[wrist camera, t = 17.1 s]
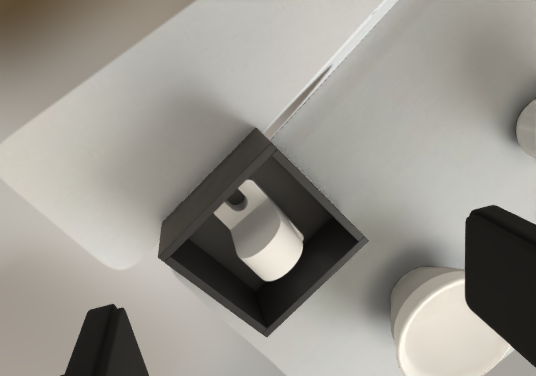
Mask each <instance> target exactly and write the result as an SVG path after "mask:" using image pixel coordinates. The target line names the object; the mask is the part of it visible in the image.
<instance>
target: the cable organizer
mask: <svg viewBox="0 0 536 376" xmlns="http://www.w3.org/2000/svg"><path fill="white" fill-rule="evenodd" d="M238 189H239V190H240V191H241V192H242V193H243V194H244V195H245V199H244V201H243V202H242V203H240V204H238V205H233V204H231V203H230V202H228V201H227V200H226V201H225V202H224V203H223V204H222V205H221V206H220V207H219V208H218V209H217V210H216V211H215V212H214V214H215V215H216V216H217V217H218V218H219V219H220V220H221V221H222V222H223V223H224V224H225V225H226V226H227V227H228V228H229V229H230V231H231V234H232V238H233V242H234V245H235V249H236V252H237V255H238V257H239V258H240V259H241V260H242V261H244V262H245V263H246V264H247V265H248V266H249V267H250V268H251V269H252V270H253V271H254V272H255V273H256V274H257V275H258V276H259V277H260V278H261V279H263V280H265V281H273V280H276V279H278V278H280V277H282V276H283V275H285V274H286V273H288V272H289V271H290V270H291V269H292V268H293V267H294V265H295V264H296V263H297V261H298V260H299V258H300V256H301V253H302V250H303V243H302V241H303V240H304V236H303V235H302V233H301V232H300V230H299V229H298V227H297V226H296V225H295V224H294V223H293V222H292V221H291V220H290V219H289V218H288V217H287V215H286V214H285V213H284V212H283V211H282V210H281V209H280V208H279V207H278V206H277V205H276V203H275V202H274V201H273V200H272V199H271V198H270V197H269V196H268V195H267V194H266V193H265V191H264V190H263V189H262V188H261V187H260V186H259V185H258V184H257V183H256V182H255V181H254V180H253V178H252V177H251V176H250V177H249V178H248V179H247V180H246V181H245V182H244V183H243V184H242V185H241V186H240V187H239V188H238Z"/></svg>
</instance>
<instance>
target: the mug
mask: <svg viewBox="0 0 536 376" xmlns="http://www.w3.org/2000/svg"><path fill="white" fill-rule="evenodd" d="M516 133H517V139H518V142H519V145H520V147H521V148H522V149H523V150H524V151H525V152H526V153H527V154H529V155H531V156H533V157H535V158H536V99H535V100H533V101H532V102H531V103H530V104H529V105H528V106H527V107H526V108H525V109H524V110H523V111H522V113H521V114H520V116H519V118H518V121H517V124H516Z"/></svg>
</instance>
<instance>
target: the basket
mask: <svg viewBox="0 0 536 376" xmlns="http://www.w3.org/2000/svg"><path fill="white" fill-rule="evenodd" d="M250 176H251V177H252V178H253V180H254V181H255V182H256V183H257V184H258V185H259V186H260V187H261V188H262V189H263V190H264V191H265V193H266V194H267V195H268V196H269V197H270V198H271V199H272V200H273V201H274V202H275V203H276V205H277V206H278V207H279V208H280V209H281V210H282V211H283V212H284V213H285V214H286V215H287V217H288V218H289V219H290V220H291V221H292V222H293V223H294V224H295V225H296V226H297V227H298V229H299V230H300V232H301V233H302V235H303V236H304V240H303V241H302V243H303V250H302V253H301V256H300V258H299V260H298V261H297V263H296V264H295V265H294V267H293V268H292V269H291V270H290V271H289V272H288V273H286V274H285V275H283V276H282V277H280V278H278V279H276V280H273V281H265V280H263V279H261V278H260V277H259V276H258V275H257V274H256V273H255V272H254V271H253V270H252V269H251V268H250V267H249V266H248V265H247V264H246V263H245V262H244V261H242V260H241V259H240V258H239V257H238V255H237V252H236V249H235V245H234V242H233V238H232V234H231V231H230V229H229V228H228V227H227V226H226V225H225V224H224V223H223V222H222V221H221V220H220V219H219V218H218V217H217V216H216V215H215V214H214V212H215V211H216V210H217V209H218V208H219V207H220V206H221V205H222V204H223V203H224V202H225V201H226V200H227V201H228V202H230V203H231V204H233V205H238V204H240V203H242V202H243V201H244V199H245V195H244V194H243V193H242V192H241V191H240V190H239V189H238V188H239V187H240V186H241V185H242V184H243V183H244V182H245V181H246V180H247V179H248V178H249V177H250ZM367 242H368V239H367V238H366V237H365V236H364V235H363V234H362V233H361V232H360V231H359V230H358V229H357V228H356V227H355V226H354V225H353V224H352V223H351V222H350V221H349V220H348V219H347V218H346V217H345V216H344V215H343V214H342V213H341V212H340V211H339V210H338V209H337V208H336V207H335V206H334V205H333V204H332V203H331V202H330V201H329V200H328V199H327V198H326V197H325V196H324V195H323V194H322V193H321V192H320V191H319V190H318V189H317V188H316V187H315V186H314V185H313V184H312V183H311V182H310V181H309V180H308V179H307V178H306V177H305V176H304V175H303V174H302V173H301V172H300V171H299V170H298V169H297V168H296V167H295V166H294V165H293V164H292V163H291V162H290V161H289V160H288V159H287V158H286V157H285V156H284V155H283V154H282V153H281V152H280V151H279V150H278V149H277V148H276V147H275V146H274V145H273V144H272V143H271V142H270V141H269V140H268V139H267V138H266V137H265V136H264V135H263V134H262V133H261V132H260V131H259V130H258V129H257V128H255V129H254V130H253V131H252V132H251V133H250V134H249V135H248V136H247V137H246V138H245V139H244V140H243V141H242V142H241V143H240V144H239V145H238V146H237V147H236V148H235V149H234V150H233V151H232V152H231V153H230V154H229V156H228V157H227V158H226V159H225V160H224V161H223V162H222V163H221V164H220V165H219V166H218V167H217V168H216V169H215V170H214V171H213V172H212V173H211V174H210V175H209V176H208V177H207V178H206V179H205V180H204V181H203V182H202V183H201V184H200V185H199V186H198V187H197V188H196V189H195V190H194V191H193V192H192V193H191V194H190V195H189V196H188V197H187V198H186V199H185V200H184V201H183V202H182V203H181V204H180V205H179V206H178V207H177V208H176V209H175V210H174V211H173V212H172V213H171V214H170V215H169V216H168V217H167V218H166V220H165V221H164V222H163V223H162V227H161V235H160V243H159V252H158V258H159V259H161V260H162V261H163V262H165V263H166V264H167V265H169V266H170V267H171V268H173V269H174V270H175V271H177V272H178V273H179V274H181V275H182V276H184V277H185V278H186V279H188V280H189V281H190V282H192V283H193V284H194V285H196V286H197V287H199V288H200V289H201V290H203V291H204V292H205V293H207V294H208V295H209V296H211V297H212V298H214V299H215V300H216V301H218V302H219V303H220V304H222V305H223V306H224V307H226V308H227V309H229V310H230V311H231V312H233V313H234V314H235V315H237V316H238V317H239V318H241V319H242V320H243V321H245V322H246V323H248V324H249V325H250V326H252V327H253V328H254V329H256V330H257V331H258V332H260V333H261V334H263V335H264V336H265V337H268V336H269V335H270V334H271V333H272V332H273V331H274V330H275V329H276V328H277V327H278V326H280V325H281V324H282V323H283V322H284V321H285V320H286V319H287V318H288V317H289V316H290V315H291V314H292V313H293V312H294V311H295V310H296V309H297V308H299V307H300V306H301V305H302V304H303V303H304V302H305V301H306V300H307V299H308V298H309V297H310V296H311V295H312V294H313V293H314V292H315V291H316V290H317V289H319V288H320V287H321V286H322V285H323V284H324V283H325V282H326V281H327V280H328V279H329V278H330V277H331V276H332V275H333V274H334V273H335V272H336V271H338V270H339V269H340V268H341V267H342V266H343V265H344V264H345V263H346V262H347V261H348V260H349V259H350V258H351V257H352V256H353V255H354V254H355V253H357V252H358V251H359V250H360V249H361V248H362V247H363V246H364V245H365V244H366V243H367Z"/></svg>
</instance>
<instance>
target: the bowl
mask: <svg viewBox="0 0 536 376" xmlns="http://www.w3.org/2000/svg"><path fill="white" fill-rule="evenodd" d="M390 305H391V312H390V322H391V332H392V336H393V339H394V341H395V345H396V353H397V360H398V364H399V367H400V369H401V371H402V372H403V374H404V375H405V376H483V375H484V374H486V373H487V372H488V371H489V370H491V369H492V368H493V367H494V366H495V365H496V364H497V363H498V362H499V361H500V360H501V359H502V358H503V357H504V355H505V354H506V352H507V351H508V350H509V348H510V347H511V345H510V344H509V343H507V342H506V341H505V340H504V339H503V338H502V337H501V336H500V335H498V334H497V333H496V332H495V331H494V330H493V329H492V328H491V327H489V326H488V325H487V324H486V323H485V322H484V321H483V320H482V319H480V318H479V317H478V316H477V315H476V314H475V313H474V312H472V311H471V310H470V308H469V307H468V305H467V303H466V301H465V270H462V269H457V268H449V267H436V268H435V267H429V266H426V267H419V268H416V269H413V270H411V271H410V272H408V273H406V274H405V275H404V276H403V277H402V278H400V280H399V281H398V282H397V283H396V285H395V287H394V288H393V291H392V293H391V298H390Z"/></svg>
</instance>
